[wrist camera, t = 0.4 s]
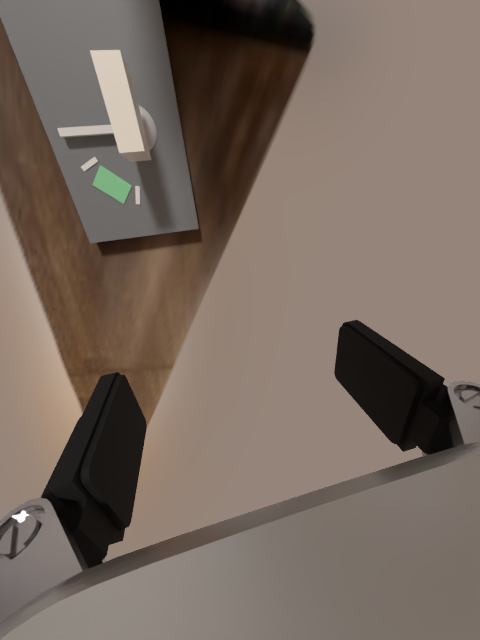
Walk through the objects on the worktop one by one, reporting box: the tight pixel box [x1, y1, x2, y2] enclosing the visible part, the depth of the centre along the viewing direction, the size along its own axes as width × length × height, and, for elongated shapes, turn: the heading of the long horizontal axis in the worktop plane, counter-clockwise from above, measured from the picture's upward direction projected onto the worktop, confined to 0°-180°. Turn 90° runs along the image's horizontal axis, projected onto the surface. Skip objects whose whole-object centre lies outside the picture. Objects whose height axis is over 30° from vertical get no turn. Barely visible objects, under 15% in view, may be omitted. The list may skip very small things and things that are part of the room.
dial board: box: [0, 0, 199, 243], centre depth 26 cm, size 22×14×2 cm, turn 6°
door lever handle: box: [57, 50, 151, 162], centre depth 22 cm, size 6×9×7 cm
